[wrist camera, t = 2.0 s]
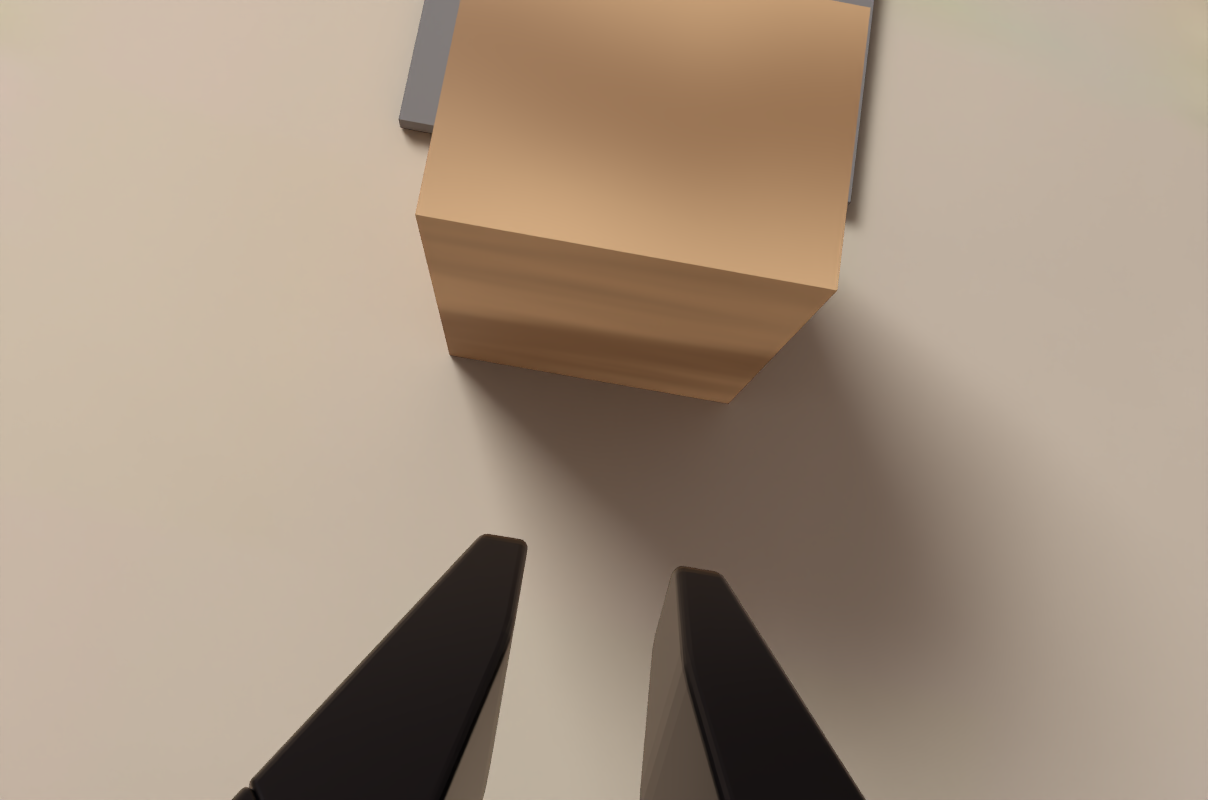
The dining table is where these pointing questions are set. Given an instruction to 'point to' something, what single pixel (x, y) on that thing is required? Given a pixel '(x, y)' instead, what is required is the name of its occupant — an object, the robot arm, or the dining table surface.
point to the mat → (434, 57)
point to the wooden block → (641, 184)
